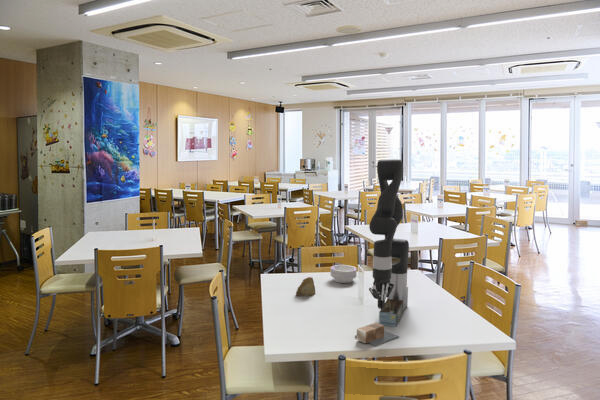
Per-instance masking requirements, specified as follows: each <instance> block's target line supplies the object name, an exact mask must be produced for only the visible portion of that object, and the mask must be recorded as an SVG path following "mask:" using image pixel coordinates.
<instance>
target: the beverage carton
mask: <svg viewBox="0 0 600 400" xmlns="http://www.w3.org/2000/svg"><path fill="white" fill-rule="evenodd" d="M403 314H404V309H403V300H393V299H387V298H386V300H385V307H384V308H383V309H379V312H378V322H379V323H378V324H381V325H384V326H387V327H397V326H398V324H399V321H400V319H401V318H402V316H403Z"/></svg>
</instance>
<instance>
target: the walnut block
mask: <svg viewBox="0 0 600 400" xmlns="http://www.w3.org/2000/svg"><path fill="white" fill-rule="evenodd" d="M384 330H385V325H381V324H379V323H378V322H374V323H370V324H367V325H364V326H361V327H357V328H356V335H357V338H356V340H357V341H359V342H361V343H363V344H369V343H368V342H370V341H373V340H376V339H379V338H381V337H384Z"/></svg>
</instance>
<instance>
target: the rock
mask: <svg viewBox="0 0 600 400" xmlns="http://www.w3.org/2000/svg"><path fill="white" fill-rule="evenodd" d="M315 295H316V286H315V281H314V279H313V277H310V276H309V277H308V276H307V278H304V279H302V282H301V283H300V285H299V286H298V287H297V290H296V292H295V296H297V297H304V296H306V297H307V296H315Z"/></svg>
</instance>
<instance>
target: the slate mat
mask: <svg viewBox="0 0 600 400" xmlns="http://www.w3.org/2000/svg"><path fill="white" fill-rule="evenodd" d="M398 337H399V338H400V336H399V335H397V334H396V333H392V332H390V331H388V330H386V329H384V337H381V338H379V339H376V340H373V341H370V342H368V343H367V344H369V343H370V344H369V345H371V344H372V346H374V345H375V346H374V347H376V345H377V346H379V344H380V345H382V344H384V342H385V343H387V341H388V342H391V341H393V340H396V339H399V338H398ZM354 338H356V339H357V334H356V335H354ZM395 338H396V339H395ZM392 339H393V340H392Z"/></svg>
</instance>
